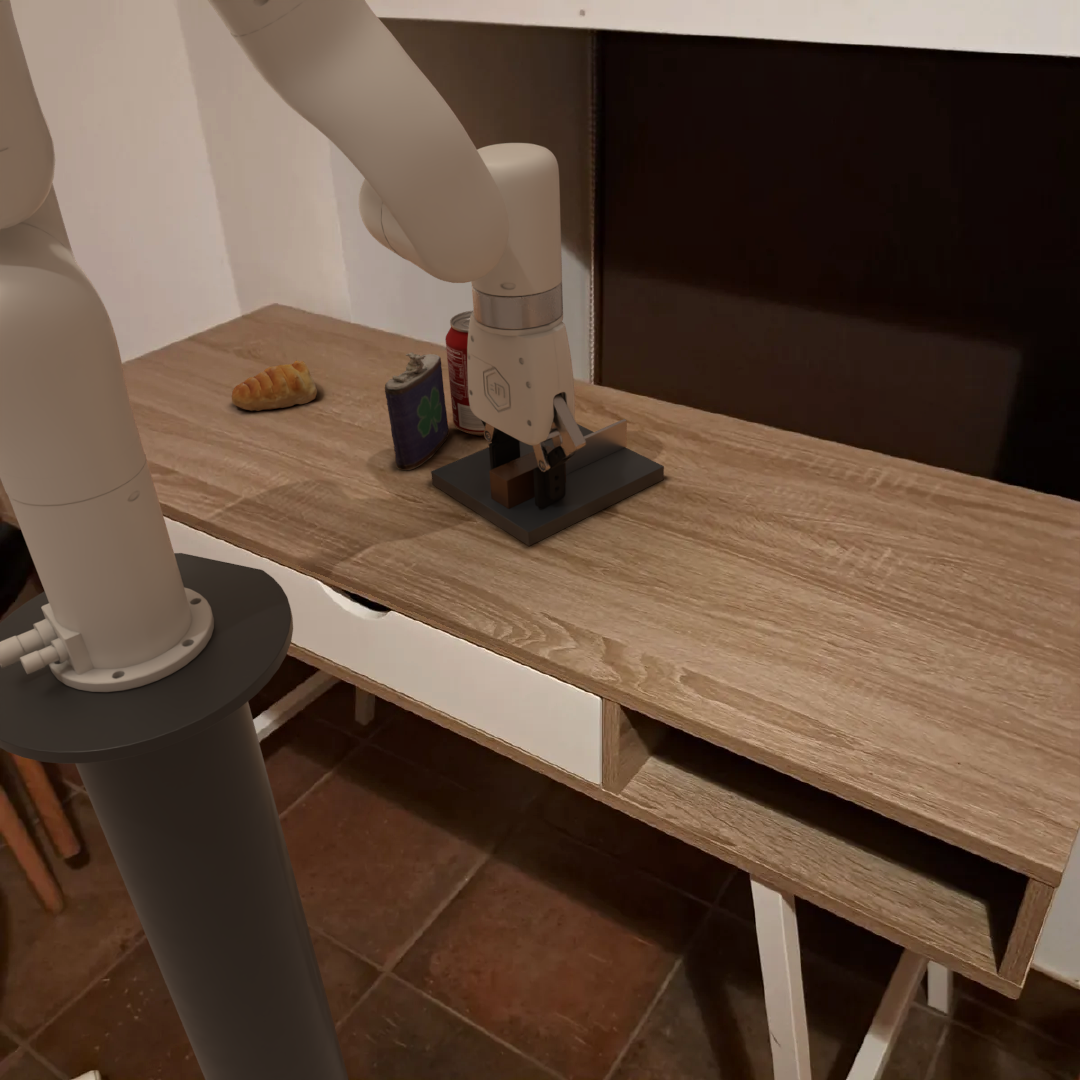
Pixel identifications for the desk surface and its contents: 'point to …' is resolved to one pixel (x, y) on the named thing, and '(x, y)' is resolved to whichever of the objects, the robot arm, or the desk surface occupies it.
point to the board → (582, 499)
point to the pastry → (276, 388)
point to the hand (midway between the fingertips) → (527, 487)
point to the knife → (517, 476)
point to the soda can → (461, 375)
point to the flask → (417, 411)
